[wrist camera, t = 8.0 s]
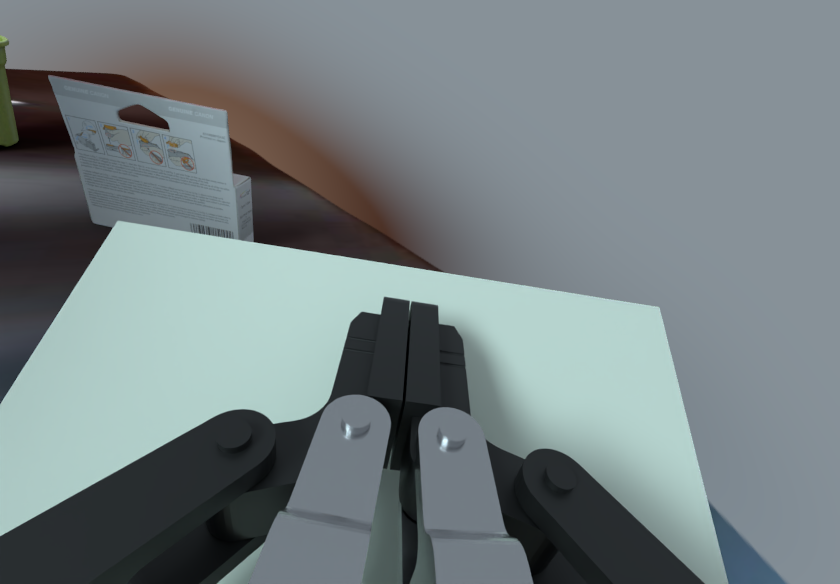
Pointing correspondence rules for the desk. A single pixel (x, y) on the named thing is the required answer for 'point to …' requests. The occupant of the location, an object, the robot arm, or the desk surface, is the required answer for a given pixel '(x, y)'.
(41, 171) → the desk surface
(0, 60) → the plant pot
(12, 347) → the desk surface
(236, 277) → the panel
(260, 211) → the desk surface
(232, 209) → the ink cartridge box
